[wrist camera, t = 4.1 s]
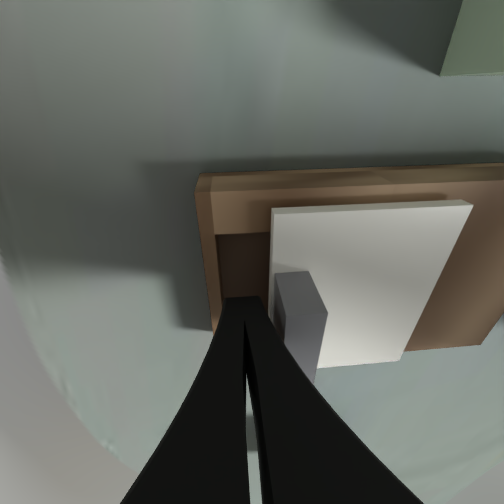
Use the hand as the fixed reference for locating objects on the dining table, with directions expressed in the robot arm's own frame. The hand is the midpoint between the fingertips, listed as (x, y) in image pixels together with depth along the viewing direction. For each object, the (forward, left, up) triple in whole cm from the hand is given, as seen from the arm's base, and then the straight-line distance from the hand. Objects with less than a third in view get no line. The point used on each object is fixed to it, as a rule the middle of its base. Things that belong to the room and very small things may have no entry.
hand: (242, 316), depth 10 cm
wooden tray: (-6, 0, -3) cm, 7 cm away
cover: (-4, 0, -1) cm, 4 cm away
